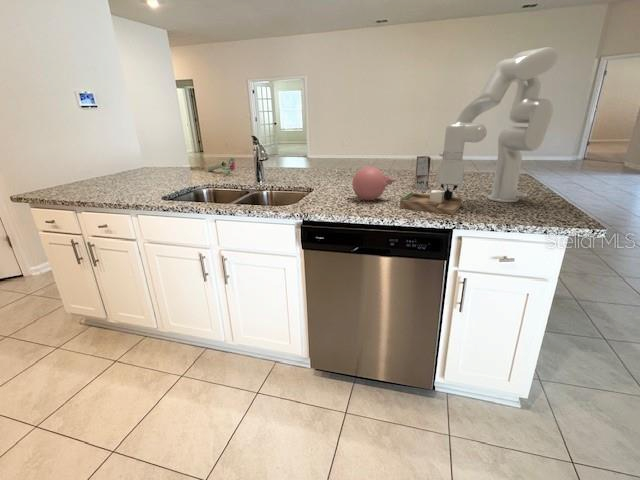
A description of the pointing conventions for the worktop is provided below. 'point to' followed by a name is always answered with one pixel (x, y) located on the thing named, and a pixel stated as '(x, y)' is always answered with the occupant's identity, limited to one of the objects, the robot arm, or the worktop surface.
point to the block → (436, 196)
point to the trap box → (429, 203)
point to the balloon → (370, 183)
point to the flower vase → (223, 166)
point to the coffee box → (422, 172)
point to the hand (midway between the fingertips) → (447, 200)
